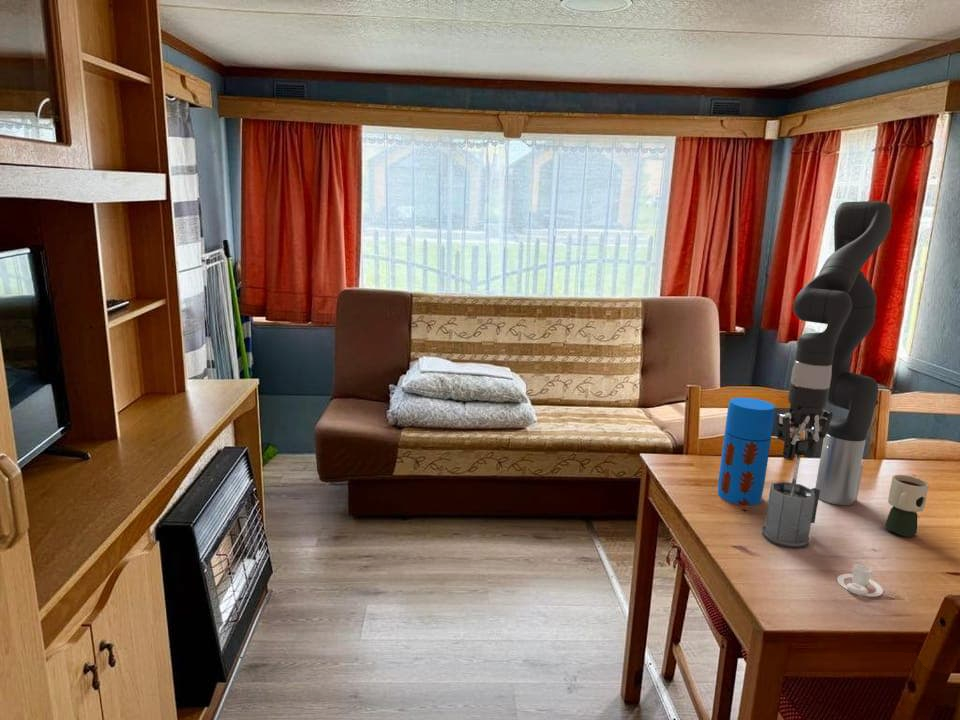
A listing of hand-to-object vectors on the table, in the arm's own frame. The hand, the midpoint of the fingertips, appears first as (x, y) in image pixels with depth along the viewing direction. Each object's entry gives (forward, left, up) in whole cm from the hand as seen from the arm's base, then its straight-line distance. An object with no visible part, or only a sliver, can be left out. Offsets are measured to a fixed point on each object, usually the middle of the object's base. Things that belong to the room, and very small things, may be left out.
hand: (798, 457), depth 144 cm
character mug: (-29, +6, -20) cm, 36 cm away
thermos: (-6, -21, -20) cm, 29 cm away
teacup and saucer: (+3, +18, -20) cm, 27 cm away
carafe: (-1, 0, -19) cm, 19 cm away
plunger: (0, 0, -10) cm, 10 cm away
